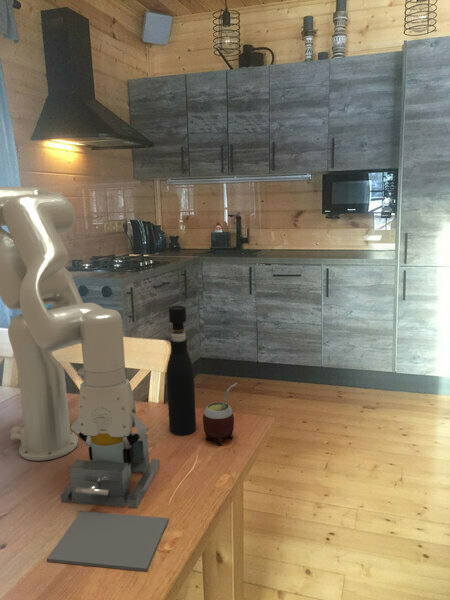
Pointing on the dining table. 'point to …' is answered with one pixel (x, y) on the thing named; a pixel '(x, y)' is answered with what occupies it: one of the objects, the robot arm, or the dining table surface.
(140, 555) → the mat
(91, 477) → the vise
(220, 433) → the mate gourd
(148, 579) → the dining table surface
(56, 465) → the dining table surface
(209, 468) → the dining table surface
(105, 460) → the bottle
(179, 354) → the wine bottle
